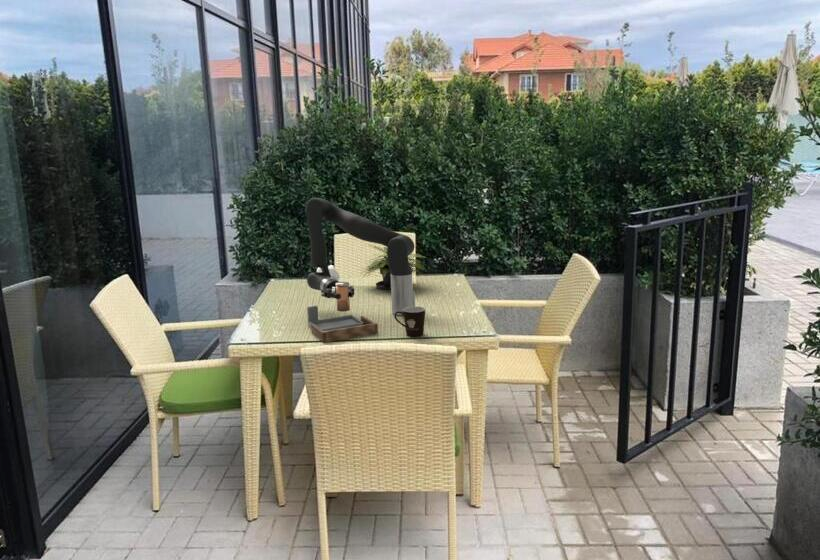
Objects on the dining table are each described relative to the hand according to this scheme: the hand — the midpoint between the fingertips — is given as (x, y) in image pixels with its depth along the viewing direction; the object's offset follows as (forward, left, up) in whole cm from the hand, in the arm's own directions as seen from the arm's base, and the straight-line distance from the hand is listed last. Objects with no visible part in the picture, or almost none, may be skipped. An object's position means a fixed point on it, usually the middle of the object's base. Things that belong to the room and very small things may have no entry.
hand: (345, 295), depth 252 cm
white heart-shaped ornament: (-21, -87, -13) cm, 91 cm away
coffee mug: (-19, +22, -13) cm, 31 cm away
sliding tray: (+3, -3, -13) cm, 14 cm away
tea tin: (0, -3, -6) cm, 7 cm away
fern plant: (-47, -56, -13) cm, 74 cm away
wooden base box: (+3, +7, -13) cm, 15 cm away
